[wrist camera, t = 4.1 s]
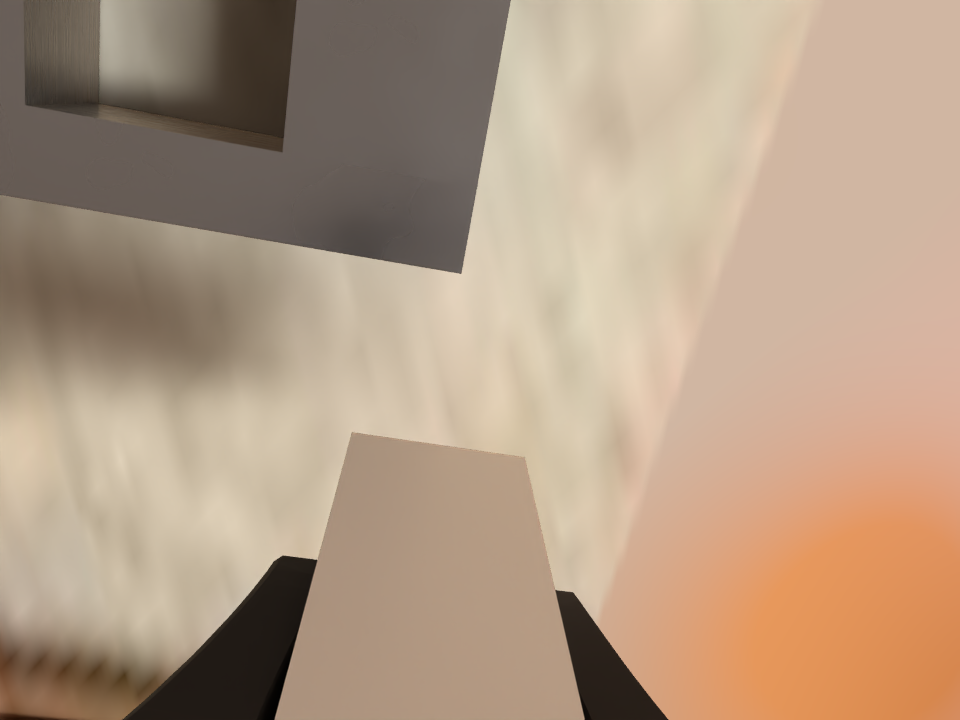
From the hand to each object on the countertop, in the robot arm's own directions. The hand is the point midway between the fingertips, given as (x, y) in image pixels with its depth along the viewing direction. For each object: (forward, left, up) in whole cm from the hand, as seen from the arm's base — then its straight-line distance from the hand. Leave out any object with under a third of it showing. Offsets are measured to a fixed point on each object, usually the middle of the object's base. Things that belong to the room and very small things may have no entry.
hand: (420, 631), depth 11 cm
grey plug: (0, 0, -3) cm, 3 cm away
